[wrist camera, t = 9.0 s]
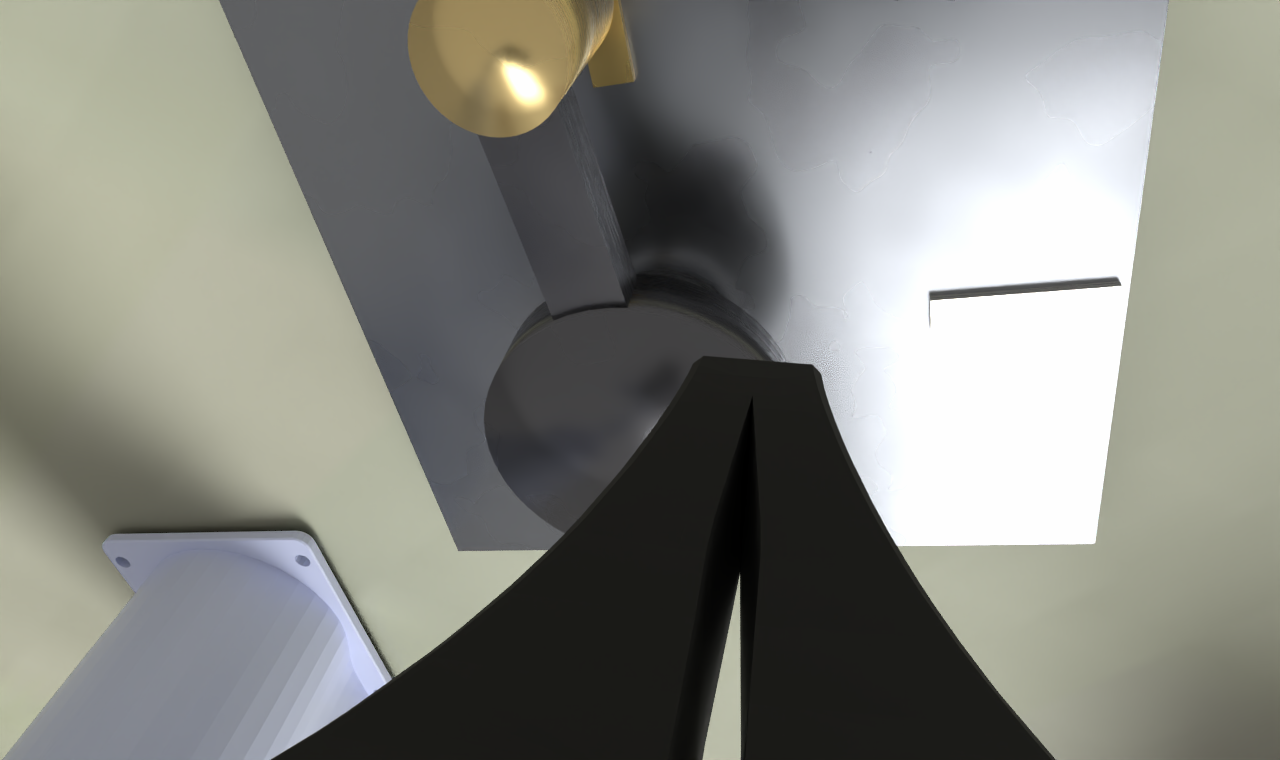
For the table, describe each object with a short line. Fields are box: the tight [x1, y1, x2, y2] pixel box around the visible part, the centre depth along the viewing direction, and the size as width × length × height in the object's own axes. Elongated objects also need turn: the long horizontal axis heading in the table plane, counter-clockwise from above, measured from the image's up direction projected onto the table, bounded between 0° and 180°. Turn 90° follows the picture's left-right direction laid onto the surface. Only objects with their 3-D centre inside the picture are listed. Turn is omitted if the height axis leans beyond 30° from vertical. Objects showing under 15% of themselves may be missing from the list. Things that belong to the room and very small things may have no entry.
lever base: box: [219, 0, 1169, 551], centre depth 19 cm, size 17×17×4 cm
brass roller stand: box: [408, 0, 787, 533], centre depth 17 cm, size 12×6×4 cm, turn 17°
